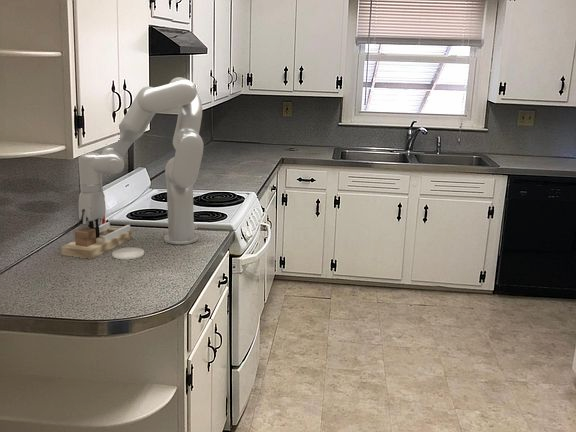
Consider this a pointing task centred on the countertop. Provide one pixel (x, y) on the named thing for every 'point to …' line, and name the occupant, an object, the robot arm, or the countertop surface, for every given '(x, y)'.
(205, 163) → the countertop surface
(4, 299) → the countertop surface
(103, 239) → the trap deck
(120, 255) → the cream plate
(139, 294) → the countertop surface
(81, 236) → the walnut block
